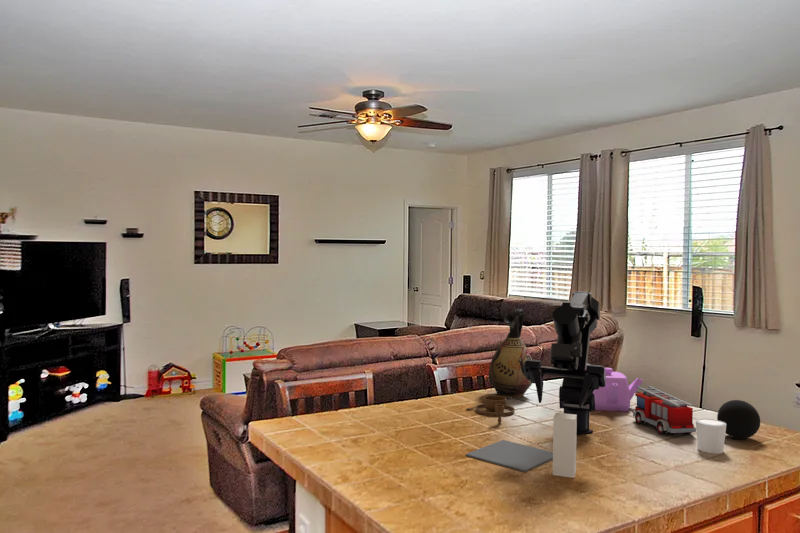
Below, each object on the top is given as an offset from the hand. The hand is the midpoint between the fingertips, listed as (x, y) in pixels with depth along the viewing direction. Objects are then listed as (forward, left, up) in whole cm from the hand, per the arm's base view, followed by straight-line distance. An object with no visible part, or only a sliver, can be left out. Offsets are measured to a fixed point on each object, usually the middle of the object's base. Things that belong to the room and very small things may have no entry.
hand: (559, 404), depth 139 cm
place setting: (-7, -42, -14) cm, 45 cm away
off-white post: (+4, +7, -13) cm, 16 cm away
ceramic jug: (-28, -63, -13) cm, 70 cm away
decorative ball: (-57, +1, -13) cm, 58 cm away
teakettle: (-49, -39, -13) cm, 64 cm away
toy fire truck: (-45, -13, -13) cm, 49 cm away
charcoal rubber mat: (+8, -7, -13) cm, 17 cm away
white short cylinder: (-41, +6, -13) cm, 43 cm away
